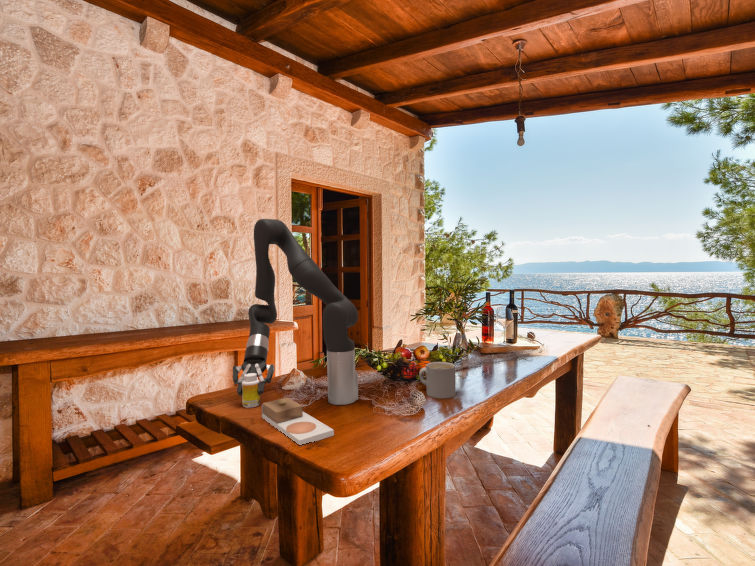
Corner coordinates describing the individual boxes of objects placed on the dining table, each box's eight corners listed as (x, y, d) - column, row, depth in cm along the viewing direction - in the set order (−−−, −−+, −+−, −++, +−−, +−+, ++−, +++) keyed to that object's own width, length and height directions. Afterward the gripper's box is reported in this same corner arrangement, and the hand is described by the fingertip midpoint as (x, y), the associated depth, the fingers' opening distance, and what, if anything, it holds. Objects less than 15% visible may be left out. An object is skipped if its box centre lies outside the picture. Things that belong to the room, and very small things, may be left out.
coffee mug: (461, 393, 136) (461, 365, 136) (442, 400, 130) (442, 370, 130) (432, 385, 147) (432, 359, 146) (413, 391, 140) (413, 363, 140)
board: (292, 409, 124) (292, 397, 124) (333, 435, 104) (333, 420, 104) (261, 417, 118) (261, 404, 118) (299, 446, 98) (299, 431, 98)
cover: (288, 406, 122) (287, 394, 122) (302, 416, 114) (302, 402, 114) (263, 413, 117) (262, 399, 117) (276, 423, 109) (276, 408, 109)
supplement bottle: (261, 406, 128) (260, 375, 128) (243, 409, 126) (242, 377, 125) (258, 401, 133) (257, 371, 133) (241, 404, 131) (240, 373, 130)
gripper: (233, 345, 136) (224, 389, 124) (276, 343, 137) (270, 387, 125) (238, 356, 141) (229, 400, 130) (279, 355, 142) (274, 398, 131)
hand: (249, 394), depth 127 cm, fingers closed on supplement bottle, 5 cm apart
